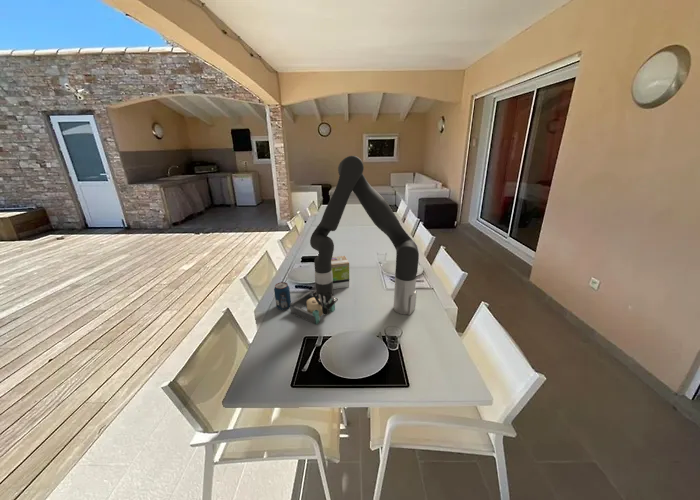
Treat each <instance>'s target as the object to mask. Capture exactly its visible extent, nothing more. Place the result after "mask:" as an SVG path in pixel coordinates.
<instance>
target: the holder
mask: <svg viewBox="0 0 700 500" xmlns="http://www.w3.org/2000/svg"><path fill="white" fill-rule="evenodd" d="M313 297H314V296H313V292H312V291H307V292H306V293H304V294H303V295H302V296H300V297H298V298H297V299H295V300H294V301H291V303H290V308H289V310H290V314H292V315H294V316H296V317H298V318H301V319H303V320H305V321H307V322H309V323H312V324H314V325H315V326H316V325H318V324H319V323H320V317H319V311H318V310H315V311H313V314H312V313H310V312H308V311H307V310H306V309H304V307H305V306H307V303H306V302H307V300H308V299H310V298H313ZM330 303H331V300H330ZM334 311H336V303H335V304H334V305H333V306H332V307H330V308H329V312H330V313H333V312H334Z"/></svg>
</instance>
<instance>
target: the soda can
mask: <svg viewBox="0 0 700 500" xmlns="http://www.w3.org/2000/svg"><path fill="white" fill-rule="evenodd" d="M290 291H291V290H290V286H289V285H288V283H287V282H284V281H282V282H281V281H280V282H278V283H275V285H274V289H273V293H274V299H275V305H276V308H277V309H278V310H279V311H287V310H290V303H292V300H291V299H292V298H291V292H290Z"/></svg>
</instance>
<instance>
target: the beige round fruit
mask: <svg viewBox="0 0 700 500" xmlns="http://www.w3.org/2000/svg"><path fill="white" fill-rule="evenodd" d="M319 301H320V299H319ZM306 303H307V305H306V311H308V312H310V313H312V314H313V311H315V310H318V311H319V318H320V317H321V316H323V315H324V314H323V311H322V306H321V305H319V304H318V303H317V301H316V299H315V298H314V297H313V298H310V299H308V300H307V302H306Z"/></svg>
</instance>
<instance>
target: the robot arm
mask: <svg viewBox="0 0 700 500" xmlns="http://www.w3.org/2000/svg"><path fill="white" fill-rule="evenodd" d="M364 170H365V169H364V163H363V160H362V159H361V158H360V157H358V156H356V155H349V156H348V155H347V157H345V158H343V159H342V160H341V161H340V162H339V164H338V167H337V171H338V175H339V176H338V180H337V183H336V186H335V188H334V191H333V194H332V195H331V197H330V199H329V201H328V203H327V204H326V205H327V206H326V207H325V210H324V212H323V215H322V217H321V220H320V222H319V224H318V225H317V226H316V228H315V229H314V231H313V233H312V234H311V236H310V241H309V243H310V247H311V248H312V249H313V250H315V251H317V252H318V255H317V256H316V257H315V258H314V259H313V260H314V264H313V265H314V285H315V291H314V292H312V294H313V296H314V298H315V299H316V301H317V303H318V304H319V305H321V306H322V311H323V315H325V316H327V315H328V314H329V313H330V310H329V308H330V307H332V306H333V305H334V304H335V305H336V303H337V302H338V300H339V299H338V297H335V296H334V292H333V290H334V289H333V274H332V266H331V260H332V257H334V256H333V255H334V251H335V243H334V241H333V239H332V238H331V237H329V236H328V235H329V234H330V233H331V232H335V231H336V230H337V229H338V226H339V224H340V222H341V219H342V216H343V214H344V211H345V209H346V206H347V204H348V200H349V198H350V196H351V194H352V192H353V193H354V195H355V196H356V198H357V200H358V201H359V203H360V204H361V206H362V208H363V209H364V210H365V212H366V214H367V215H368V217H369V218H370V219H371V222H372V223H373V224H374V225H375V226H376V228H377V229H379V230H380V231H381V232H382V233H384V234H385V235H386V236H387V237H388V239H389V241H390V242H391V243H392V245H393V248H394V249H395V251H396V254H395V255H396V256H395V271H394V272H395V274H394V295H393V310H394V311H395V312H396V313H397V314H400V315H409V316H411V314H412V313H414V311H415V310H416V306H417V305H416V303H417V290H416V285H417V274H418V270H419V269H418V268H419V261H420V259H419V258H420V255H419V249H418V245H417V244H416V242H415V240H414V239H412V238H411V237H410V235H409V234H408V233H407V232H406V230H404V228H403V227H402V225H401V223H400V221H399V220H398V217H397V216H396V214H395V213H394V210H393V209H392V208H391V206H390V205H389V203H388V201H386V199H385V198H384V197H383V196H382V195H381V194H380V193H379V192H378V191H377V190H376V189H375V188H374V187H372V185H371V184H370V183H369V182H368V179H367V178H366V176H365V175H364ZM319 299H320V301H319ZM330 300H331V303H330Z"/></svg>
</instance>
